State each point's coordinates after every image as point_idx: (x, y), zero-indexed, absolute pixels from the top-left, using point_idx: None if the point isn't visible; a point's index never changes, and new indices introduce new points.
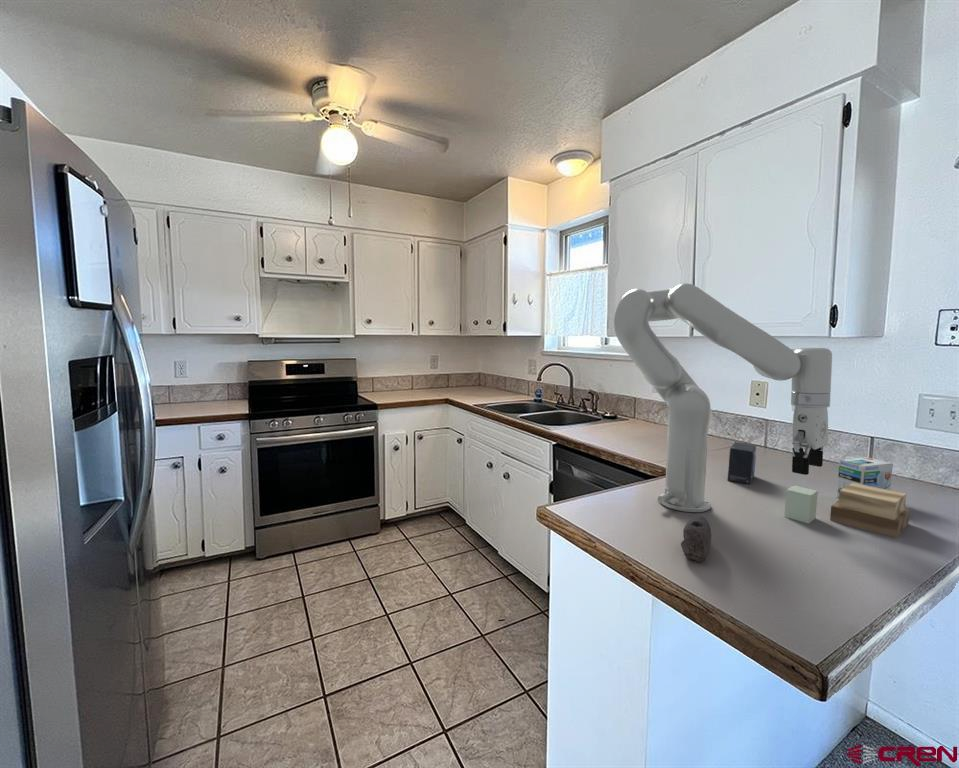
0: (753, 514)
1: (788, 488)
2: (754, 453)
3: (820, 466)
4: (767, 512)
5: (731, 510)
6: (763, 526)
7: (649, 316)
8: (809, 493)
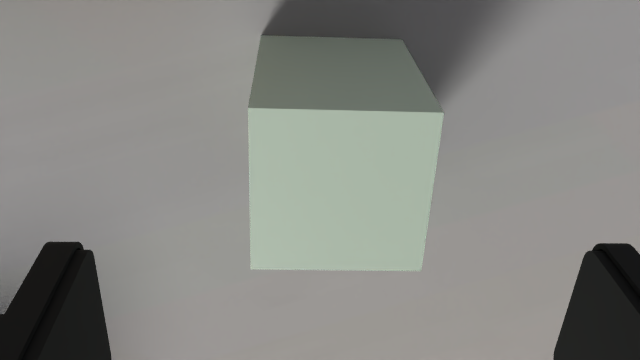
0: (478, 273)
1: (375, 270)
2: None
3: (82, 248)
4: None
5: (497, 351)
6: (637, 188)
7: None
8: (397, 133)
